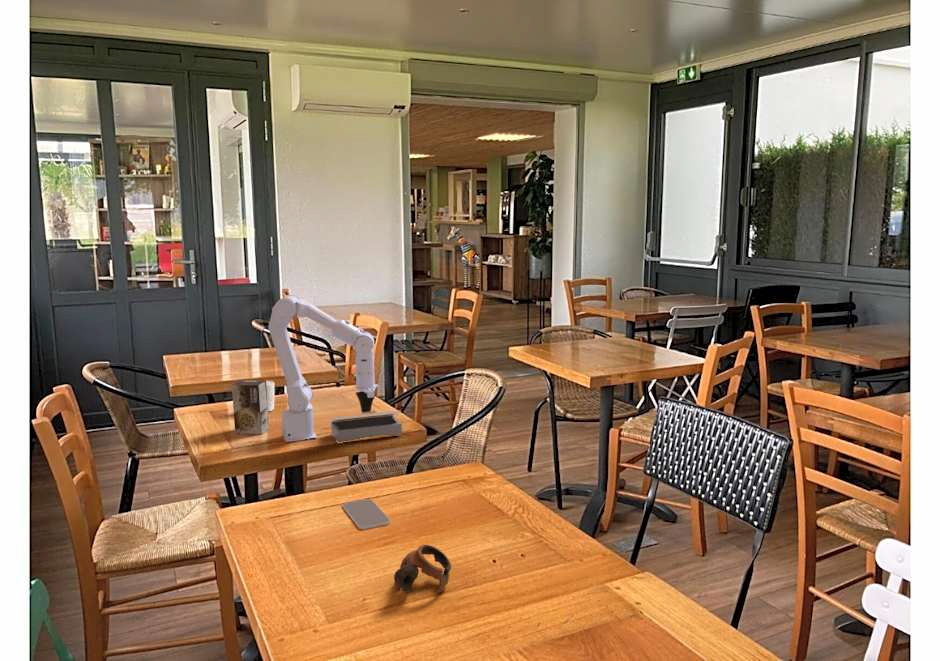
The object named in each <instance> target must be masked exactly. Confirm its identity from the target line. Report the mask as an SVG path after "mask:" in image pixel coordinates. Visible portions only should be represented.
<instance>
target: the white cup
mask: <svg viewBox="0 0 940 661" xmlns="http://www.w3.org/2000/svg"><path fill="white" fill-rule="evenodd" d="M266 389H267V405H268V411H272V410H273V409H274V410H275V382H274V381H273V380H266ZM272 412H273V411H272Z"/></svg>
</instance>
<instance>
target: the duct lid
mask: <svg viewBox="0 0 940 661" xmlns="http://www.w3.org/2000/svg"><path fill="white" fill-rule="evenodd" d="M401 411H402V410H392V411H391V410H390V411H383V412H382V411H380V412H376V410H373V411H372V410H371V411H370V412H362V411H361V414H354V415H345V416H336V417H333V418H331V419H330V423H331V422H337V421H346V420H355V419H364V418H373V417H382V416H392V415H393V416H395V415H398V414H401V413H402V412H401Z"/></svg>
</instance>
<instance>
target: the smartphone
mask: <svg viewBox="0 0 940 661" xmlns="http://www.w3.org/2000/svg"><path fill="white" fill-rule="evenodd" d="M342 508H343V510H344V511H345V512H346V514H347V515H348V516H349V517H350V520H352V522H353V523H354V524H355V525H356V527H357V529H359V530H362V531H365V530H371V529H374V528H379V527H385V526H388V525H390V524H391V518H389V516H388V515H386V514H385V512H384V511H383V510H382V509H381V507H379V505H377V504H376V502H375V501H374V500H373V499H372V498H371V499H370V498H366V499H360V500H355V501H349V502H345V503H342Z"/></svg>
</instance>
